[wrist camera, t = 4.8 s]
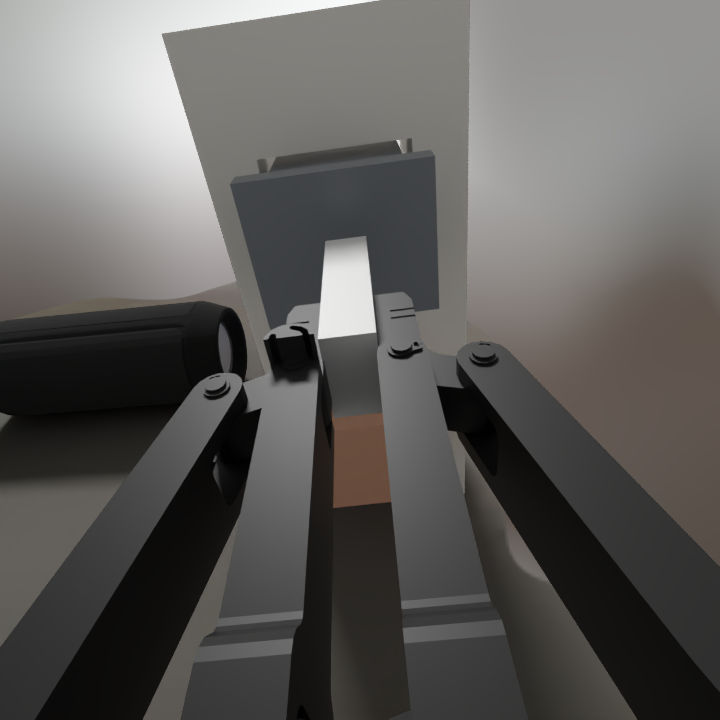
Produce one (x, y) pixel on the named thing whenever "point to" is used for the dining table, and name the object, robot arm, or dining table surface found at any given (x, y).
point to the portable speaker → (116, 357)
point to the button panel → (336, 120)
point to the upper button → (341, 222)
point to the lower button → (360, 461)
